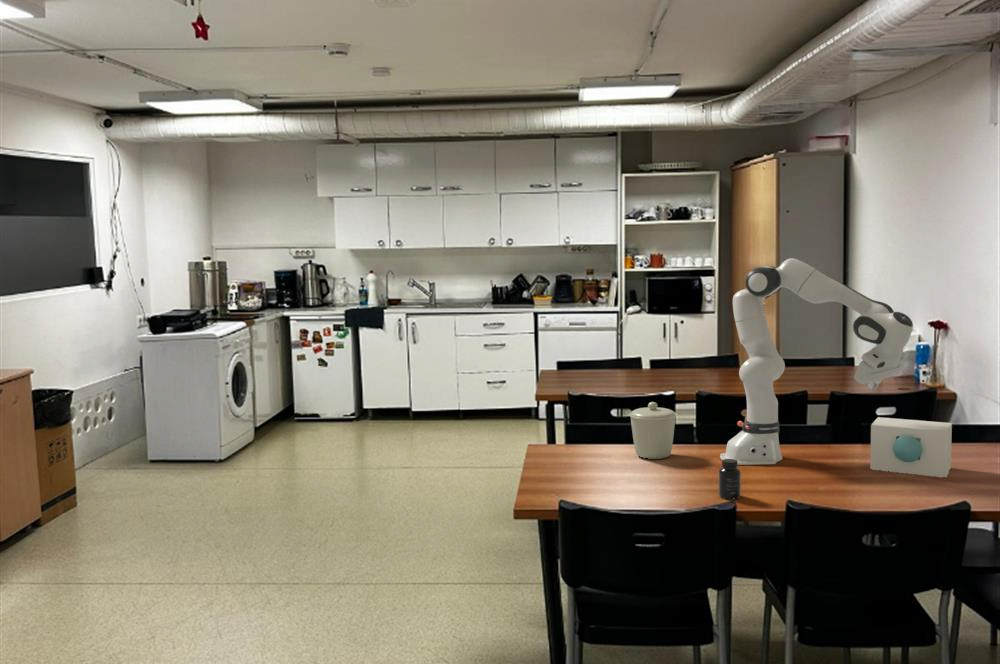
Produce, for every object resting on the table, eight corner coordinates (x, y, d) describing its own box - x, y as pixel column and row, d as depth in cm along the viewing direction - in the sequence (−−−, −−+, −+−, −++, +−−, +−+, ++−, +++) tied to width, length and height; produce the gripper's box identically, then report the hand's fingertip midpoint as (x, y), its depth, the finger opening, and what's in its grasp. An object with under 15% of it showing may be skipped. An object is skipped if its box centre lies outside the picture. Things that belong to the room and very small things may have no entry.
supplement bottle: (715, 494, 286) (715, 458, 285) (736, 493, 287) (736, 457, 285) (722, 500, 279) (722, 463, 278) (743, 499, 280) (743, 462, 279)
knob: (921, 463, 298) (922, 437, 297) (892, 460, 303) (893, 435, 302) (926, 454, 310) (927, 429, 309) (898, 451, 315) (899, 426, 314)
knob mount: (946, 477, 296) (947, 431, 294) (870, 469, 309) (871, 424, 307) (950, 467, 308) (951, 423, 306) (877, 460, 321) (877, 417, 319)
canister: (674, 463, 325) (673, 407, 322) (625, 461, 331) (624, 406, 328) (680, 451, 342) (679, 398, 339) (633, 449, 348) (633, 397, 345)
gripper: (899, 346, 312) (885, 377, 319) (858, 355, 303) (845, 387, 310) (913, 356, 307) (898, 387, 315) (872, 365, 298) (858, 397, 306)
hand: (871, 387), depth 312 cm, fingers closed
